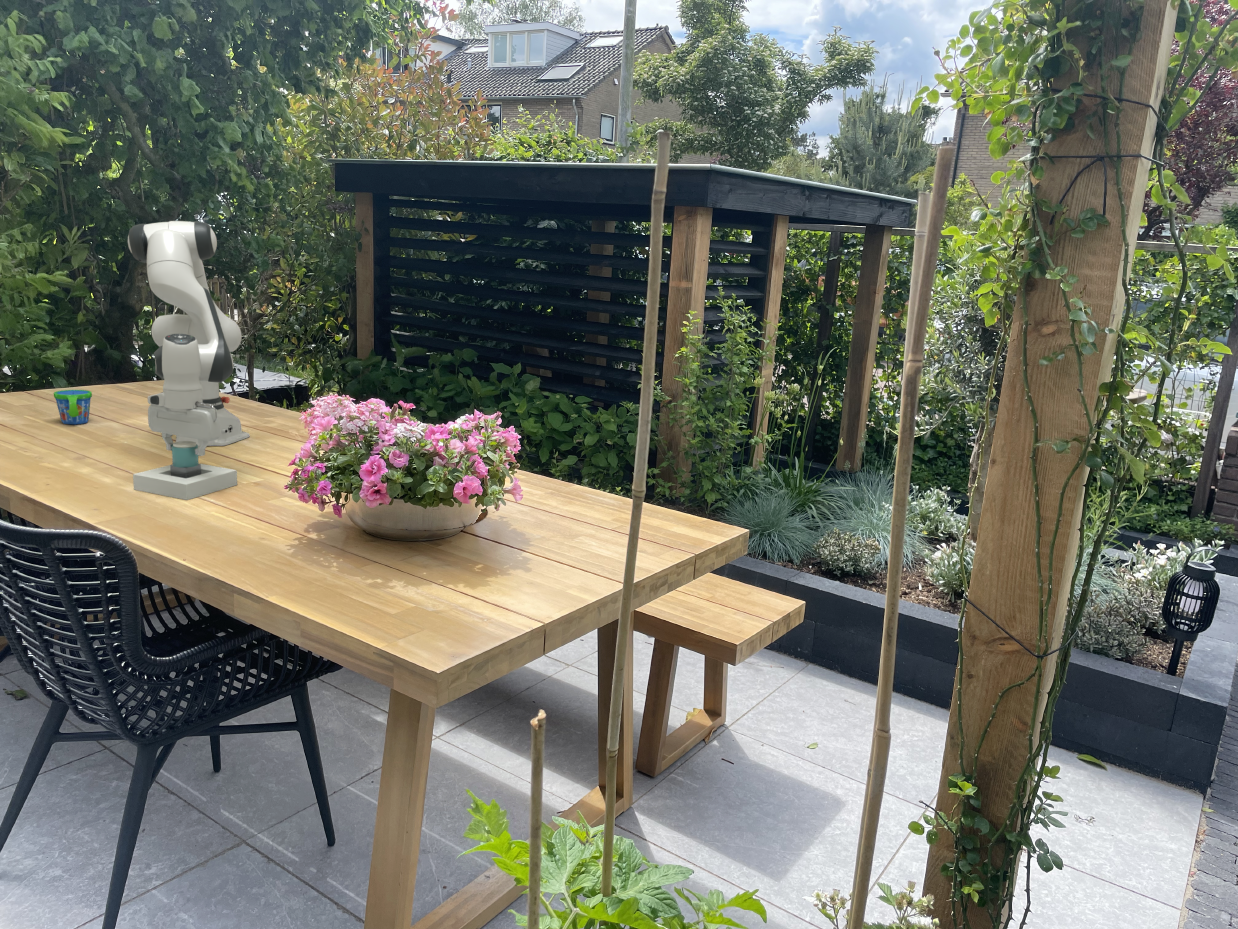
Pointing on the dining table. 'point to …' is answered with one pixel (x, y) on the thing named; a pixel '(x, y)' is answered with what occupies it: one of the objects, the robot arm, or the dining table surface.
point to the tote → (185, 482)
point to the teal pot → (184, 454)
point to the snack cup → (73, 405)
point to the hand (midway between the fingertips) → (185, 452)
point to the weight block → (185, 471)
